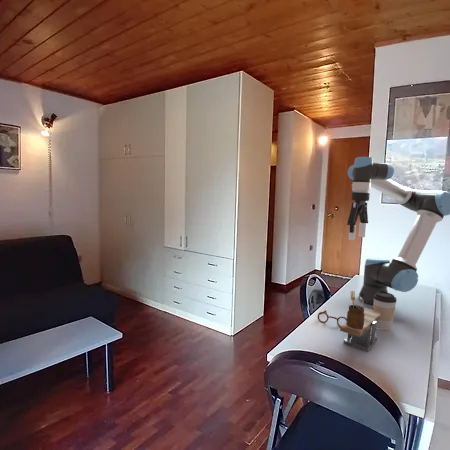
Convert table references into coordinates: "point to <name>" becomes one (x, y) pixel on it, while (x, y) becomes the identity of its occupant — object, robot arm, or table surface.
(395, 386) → the table surface
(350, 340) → the stand
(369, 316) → the beam
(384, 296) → the coffee cup
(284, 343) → the table surface
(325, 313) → the glasses
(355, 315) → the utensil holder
